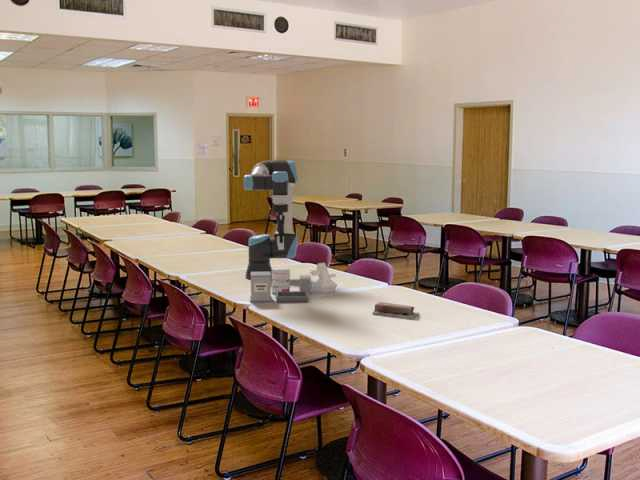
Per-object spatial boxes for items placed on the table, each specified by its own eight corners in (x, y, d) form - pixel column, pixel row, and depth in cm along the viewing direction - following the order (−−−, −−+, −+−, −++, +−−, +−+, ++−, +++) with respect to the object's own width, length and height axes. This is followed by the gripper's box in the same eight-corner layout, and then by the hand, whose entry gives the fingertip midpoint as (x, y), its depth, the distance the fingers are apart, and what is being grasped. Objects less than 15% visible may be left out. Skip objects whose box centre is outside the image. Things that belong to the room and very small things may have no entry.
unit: (250, 297, 312) (249, 271, 310) (271, 297, 313) (271, 271, 311) (250, 302, 302) (249, 275, 301) (271, 302, 303) (271, 275, 302)
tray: (275, 296, 314) (275, 291, 314) (306, 296, 316) (306, 291, 315) (276, 302, 303) (276, 297, 302) (308, 301, 304) (308, 296, 304)
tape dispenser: (341, 290, 328) (341, 263, 326) (318, 294, 320) (318, 266, 318) (331, 287, 335) (331, 261, 333) (308, 291, 327) (308, 264, 325)
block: (299, 291, 327) (299, 275, 326) (309, 291, 327) (309, 275, 326) (300, 293, 322) (300, 277, 321) (310, 293, 322) (310, 277, 321)
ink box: (290, 291, 326) (290, 268, 324) (288, 294, 321) (288, 270, 319) (273, 291, 326) (272, 267, 325) (271, 293, 321) (271, 269, 320)
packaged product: (371, 304, 281) (381, 299, 290) (371, 315, 282) (380, 310, 290) (411, 309, 272) (420, 304, 281) (411, 320, 273) (419, 315, 282)
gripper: (271, 201, 329) (272, 243, 332) (273, 206, 305) (273, 251, 308) (286, 201, 330) (286, 243, 333) (289, 206, 305) (289, 251, 308)
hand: (280, 247), depth 320 cm, fingers open, 13 cm apart
